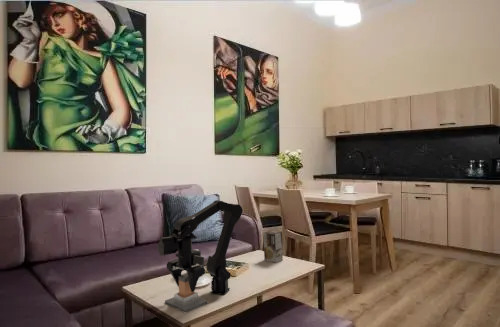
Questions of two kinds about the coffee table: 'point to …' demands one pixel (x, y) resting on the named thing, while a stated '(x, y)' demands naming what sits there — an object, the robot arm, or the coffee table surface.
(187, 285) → the orange block
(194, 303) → the collar
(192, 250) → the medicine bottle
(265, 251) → the coffee box
